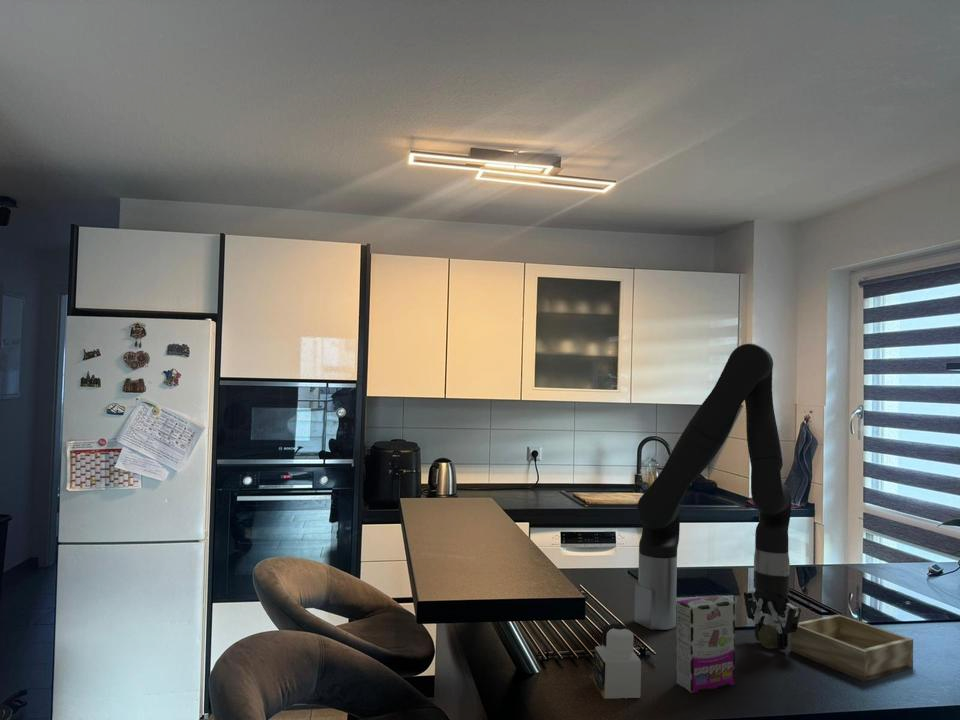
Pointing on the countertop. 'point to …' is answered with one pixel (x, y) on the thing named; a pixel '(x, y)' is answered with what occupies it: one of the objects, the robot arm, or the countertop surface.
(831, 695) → the countertop surface
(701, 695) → the countertop surface
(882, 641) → the crate
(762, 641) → the lime
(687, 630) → the candy bar box
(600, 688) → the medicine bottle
